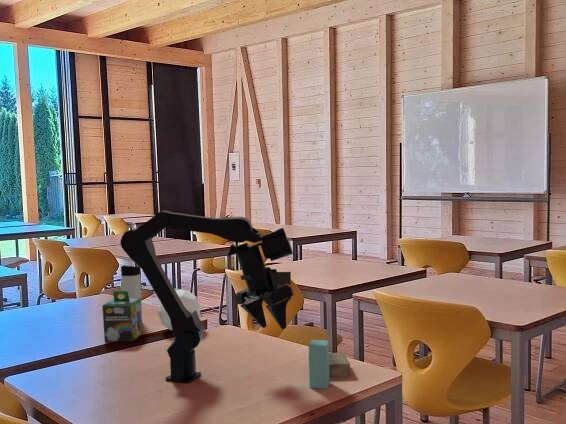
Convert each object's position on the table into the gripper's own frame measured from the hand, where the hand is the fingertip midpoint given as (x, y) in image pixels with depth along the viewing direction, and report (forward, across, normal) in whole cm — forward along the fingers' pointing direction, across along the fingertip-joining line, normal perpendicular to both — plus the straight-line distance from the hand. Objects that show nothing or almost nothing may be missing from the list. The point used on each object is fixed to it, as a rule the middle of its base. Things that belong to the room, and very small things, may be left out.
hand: (274, 328), depth 143 cm
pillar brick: (+14, -9, -2) cm, 17 cm away
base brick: (+16, -3, -9) cm, 18 cm away
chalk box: (-3, +58, +20) cm, 61 cm away
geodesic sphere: (+2, +56, +3) cm, 56 cm away
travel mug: (-4, +73, +12) cm, 74 cm away
